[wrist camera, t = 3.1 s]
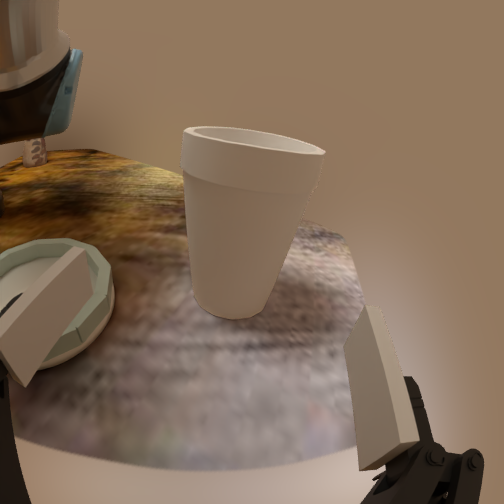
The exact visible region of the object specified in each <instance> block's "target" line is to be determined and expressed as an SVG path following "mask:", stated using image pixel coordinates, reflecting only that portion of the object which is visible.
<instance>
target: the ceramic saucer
mask: <svg viewBox="0 0 504 504" xmlns="http://www.w3.org/2000/svg"><path fill="white" fill-rule="evenodd" d="M73 246H75V247H79V248H83V249H85V250H86V257H87V263H88V268H89V274H90V279H91V284H92V289H93V295H92V297H91V298H90V299H89V300H88V301H87V303H86V304H85V305H84V306H83V308H82V309H81V310H80V312H79V313H78V314H77V315H76V317H75V318H74V319H73V321H72V322H71V323H70V324H69V326H68V327H67V328H66V330H65V331H64V332H63V334H62V335H61V337H60V338H59V339H58V341H57V342H56V343H55V345H54V346H53V348H52V349H51V350H50V352H49V353H48V355H47V356H46V358H45V359H44V361H43V362H42V363H41V365H40V366H39V368H38V369H37V370H43V369H46V368H50V367H53V366H56V365H59V364H61V363H64V362H65V361H67V360H69V359H71V358H73V357H75V356H76V355H77V354H79V353H80V352H82V351H83V350H85V349H86V348H87V347H88V346H89V345H90V344H91V343H92V342H94V340H95V339H96V338H97V337H98V336H99V335H100V334H101V332H102V331H103V329H104V328H105V327H106V325H107V323H108V321H109V319H110V317H111V315H112V312H113V309H114V303H115V292H114V286H113V278H112V271H111V265H110V264H109V263H108V262H107V260H106V259H105V258H104V257H103V256H102V254H101V253H100V252H99V251H98V249H97V248H96V247H94V246H92V245H89V244H86V243H83V242H79V241H76V240H73V239H70V238H68V239H67V238H56V239H37V241H36V240H34V241H31V242H28V243H25V244H22V245H19V246H16V247H14V248H11V249H8V250H6V251H4V252H3V253H2V254H0V312H1V310H2V309H3V308H4V307H6V305H7V304H8V302H9V301H10V300H11V299H12V298H14V297H15V296H17V295H19V294H20V293H24V292H25V291H26V290H27V289H28V288H29V287H30V286H31V285H32V284H33V283H34V282H35V281H36V280H37V279H38V278H39V277H40V276H41V275H42V274H43V273H44V272H46V271H47V270H48V269H49V268H50V267H51V266H52V265H53V264H54V263H55V262H56V261H57V260H59V259H60V258H61V257H62V256H63V255H64V254H65V253H66V252H68V251H69V250H70V249H71V248H72V247H73Z"/></svg>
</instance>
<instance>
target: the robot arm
mask: <svg viewBox="0 0 504 504" xmlns="http://www.w3.org/2000/svg"><path fill="white" fill-rule="evenodd" d="M58 6H59V0H0V145H2V144H7V143H12V142H18V141H24V140H30V139H37V138H44V137H46V136H50V135H55V134H60V133H62V132H64V131H65V130H66V129H67V128H68V126H69V124H70V121H71V117H72V112H73V107H74V102H75V96H76V91H77V86H78V81H79V75H80V70H81V65H82V59H83V52H82V51H81V50H77V49H72V50H70V38H69V36H68V35H67V34H66V33H65V32H64V31H62V30H59V29H58ZM4 210H5V206H4V200H3V195H2V192H1V191H0V217H1V216H2V214H3V213H4ZM92 295H93V289H92V284H91V279H90V274H89V268H88V263H87V257H86V250H85V249H83V248H79V247H75V246H73V247H72V248H71V249H70V250H69V251H68V252H66V253H65V254H64V255H63V256H62V257H61V258H60V259H59V260H57V261H56V262H55V263H54V264H53V265H52V266H51V267H50V268H49V269H48V270H47V271H46V272H44V273H43V274H42V275H41V276H40V277H39V278H38V279H37V280H36V281H35V282H34V283H33V284H32V285H31V286H30V287H29V288H28V289H27V290H26V291H25V292H24V293H20V294H19V295H17V296H15V297H14V298H12V299H11V300H10V301H9V302H8V304H7V305H6V307H4V308H3V309H2V310H1V312H0V504H31V501H30V498H29V495H28V492H27V489H26V485H25V482H24V478H23V475H22V471H21V467H20V463H19V459H18V454H17V449H16V444H15V439H14V433H13V426H12V419H11V410H10V400H9V386H8V378H7V376H6V374H7V373H8V372H9V373H10V375H11V376H12V378H13V379H14V380H15V381H16V382H18V383H19V384H21V385H22V386H24V387H25V388H26V386H27V385H28V383H29V382H30V380H31V379H32V377H33V375H34V374H35V372H36V371H37V369H38V368H39V366H40V365H41V363H42V362H43V361H44V359H45V358H46V356H47V355H48V353H49V352H50V350H51V349H52V348H53V346H54V345H55V343H56V342H57V341H58V339H59V338H60V337H61V335H62V334H63V332H64V331H65V330H66V328H67V327H68V326H69V324H70V323H71V322H72V321H73V319H74V318H75V317H76V315H77V314H78V313H79V312H80V310H81V309H82V308H83V306H84V305H85V304H86V303H87V301H88V300H89V299H90V298H91V297H92ZM343 347H344V352H345V358H346V364H347V371H348V377H349V384H350V391H351V398H352V405H353V413H354V421H355V430H356V440H357V449H358V461H359V471H367V470H377V469H378V468H380V467H382V466H383V465H385V466H386V471H384V472H382V473H381V474H379V475H377V476H376V477H374V478H373V479H372V480H373V481H375V480H377V479H379V480H378V481H377V482H376V484H375V485H374V486H373V488H372V489H371V491H370V492H369V493H368V494H367V496H366V497H365V498H364V500H363V501H362V502H361V504H478V501H479V496H480V490H481V484H482V477H483V470H484V459H483V456H482V454H481V453H480V451H478V450H477V449H469V450H467V451H466V452H464V453H463V454H455V453H448V452H446V451H445V449H444V448H443V447H442V446H441V445H440V444H438V443H436V442H434V440H433V437H432V433H431V429H430V425H429V421H428V417H427V414H426V410H425V408H424V403H423V400H422V399H421V398H422V396H421V393H420V390H419V387H418V385H417V383H416V382H415V381H414V379H413V378H412V377H407V376H405V377H404V376H403V374H402V370H401V367H400V364H399V361H398V358H397V355H396V352H395V348H394V345H393V343H392V340H391V337H390V334H389V331H388V328H387V325H386V323H385V320H384V317H383V314H382V312H381V309H380V307H376V306H370V305H365V306H364V308H363V310H362V312H361V314H360V316H359V318H358V320H357V322H356V324H355V326H354V328H353V330H352V332H351V333H350V335H349V337H348V339H347V341H346V343H345V345H344V346H343ZM447 492H448V494H447ZM446 496H447V497H446Z"/></svg>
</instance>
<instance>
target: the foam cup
mask: <svg viewBox="0 0 504 504" xmlns="http://www.w3.org/2000/svg"><path fill="white" fill-rule="evenodd" d="M325 154H326V151H324V150H322V149H320V148H319V147H317V146H314V145H311V144H309V143H306V142H303V141H300V140H296V139H293V138H289V137H284V136H280V135H276V134H271V133H266V132H260V131H253V130H247V129H238V128H229V127H191V128H187V129H186V130H184V131H183V140H182V150H181V160H180V161H181V162H180V167H181V168H182V169H183V178H184V196H185V211H186V224H187V237H188V248H189V258H190V268H191V278H192V286H193V291H194V297H195V299H196V301H197V302H198V304H199V305H200V307H201V308H203V309H204V310H206V311H208V312H209V313H211V314H212V315H214V316H218V317H222V318H227V319H232V320H234V319H243V318H250V317H252V316H254V315H256V314H257V313H259V312H261V311H262V310H263V308H264V306H265V304H266V302H267V300H268V298H269V296H270V294H271V292H272V289H273V287H274V285H275V282H276V280H277V277H278V275H279V273H280V270H281V268H282V266H283V263H284V261H285V258H286V256H287V254H288V251H289V249H290V246H291V244H292V241H293V239H294V236H295V234H296V231H297V229H298V227H299V224H300V222H301V219H302V216H303V214H304V211H305V209H306V206H307V204H308V201H309V199H310V196H311V194H312V191H314V190H315V189H316V187H317V185H318V183H319V179H320V175H321V170H322V166H323V162H324V158H325Z"/></svg>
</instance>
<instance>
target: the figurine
mask: <svg viewBox="0 0 504 504" xmlns="http://www.w3.org/2000/svg"><path fill="white" fill-rule="evenodd" d="M46 162H47V151H46V145H45V140H44V138H37V139H30V140H26V141H25V144H24V151H23V164H24V167H36V166H40V165H43V164H45V163H46Z"/></svg>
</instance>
